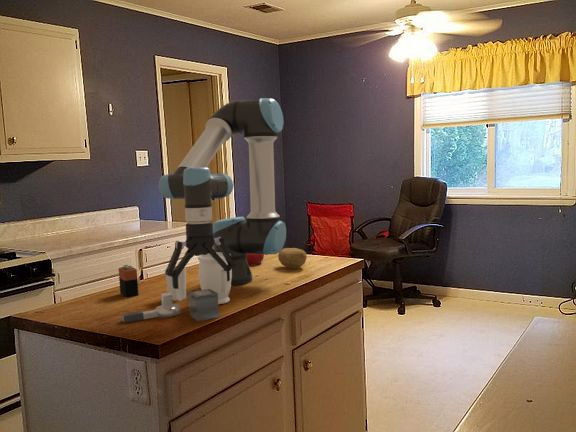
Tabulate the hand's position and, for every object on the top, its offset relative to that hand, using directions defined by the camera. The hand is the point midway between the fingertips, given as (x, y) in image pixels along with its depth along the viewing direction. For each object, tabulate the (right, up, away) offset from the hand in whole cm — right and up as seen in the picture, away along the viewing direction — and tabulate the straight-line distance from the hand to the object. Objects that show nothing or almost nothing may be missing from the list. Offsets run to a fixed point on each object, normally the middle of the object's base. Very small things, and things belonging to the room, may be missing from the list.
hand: (202, 296), depth 156 cm
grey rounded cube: (0, -6, +1) cm, 6 cm away
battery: (-30, -4, +30) cm, 42 cm away
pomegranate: (+9, +3, +74) cm, 75 cm away
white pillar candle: (-12, -4, +23) cm, 26 cm away
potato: (+26, +2, +63) cm, 68 cm away
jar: (+2, -4, +17) cm, 17 cm away
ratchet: (-15, -6, +3) cm, 17 cm away
